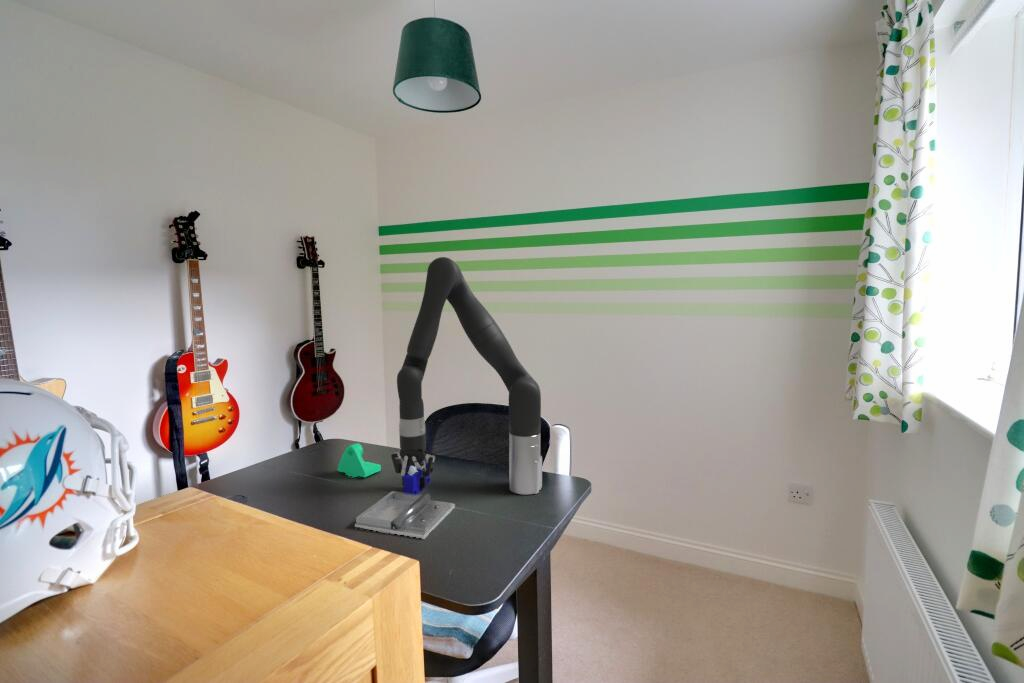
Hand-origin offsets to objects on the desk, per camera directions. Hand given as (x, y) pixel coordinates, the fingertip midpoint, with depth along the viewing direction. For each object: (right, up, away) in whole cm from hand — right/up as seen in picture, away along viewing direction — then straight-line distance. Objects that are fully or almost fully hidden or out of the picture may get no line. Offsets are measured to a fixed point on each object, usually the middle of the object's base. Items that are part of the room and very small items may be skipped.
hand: (414, 487), depth 141 cm
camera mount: (-21, 0, +14) cm, 25 cm away
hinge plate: (+2, -2, -18) cm, 18 cm away
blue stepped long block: (0, -1, +1) cm, 1 cm away
